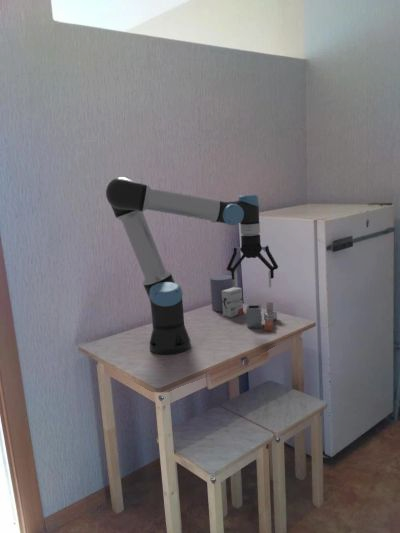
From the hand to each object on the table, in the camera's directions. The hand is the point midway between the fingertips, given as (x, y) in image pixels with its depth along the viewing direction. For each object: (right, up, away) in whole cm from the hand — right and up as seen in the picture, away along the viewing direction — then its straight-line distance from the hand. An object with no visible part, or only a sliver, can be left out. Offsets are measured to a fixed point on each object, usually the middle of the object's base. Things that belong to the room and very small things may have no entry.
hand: (253, 286), depth 190 cm
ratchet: (+7, -16, +3) cm, 17 cm away
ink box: (-7, -13, +21) cm, 26 cm away
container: (-11, -12, +32) cm, 35 cm away
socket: (+1, -16, +3) cm, 16 cm away
